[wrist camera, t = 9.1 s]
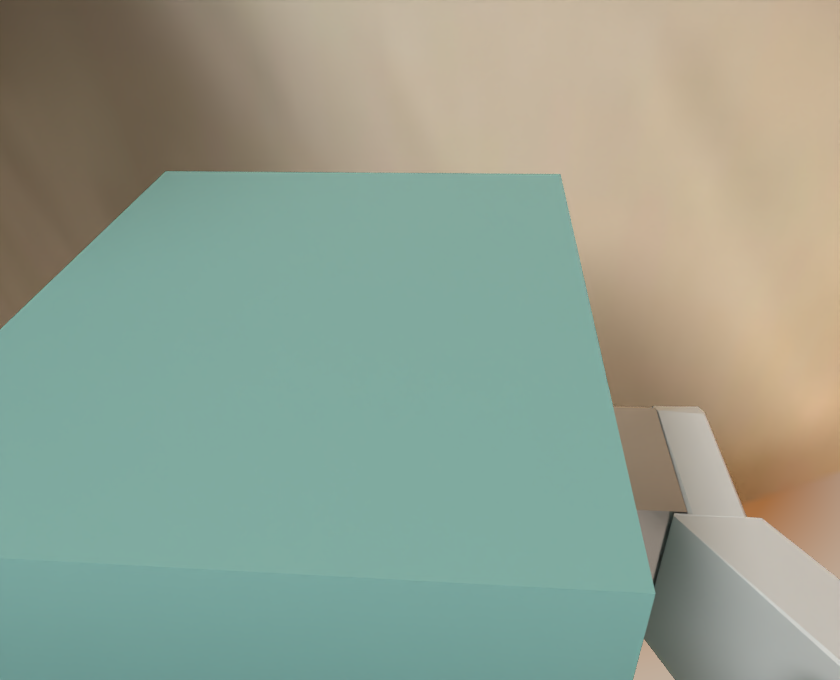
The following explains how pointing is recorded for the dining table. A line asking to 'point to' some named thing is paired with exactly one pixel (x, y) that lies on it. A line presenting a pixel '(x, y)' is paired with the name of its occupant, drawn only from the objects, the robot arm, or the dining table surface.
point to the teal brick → (318, 441)
